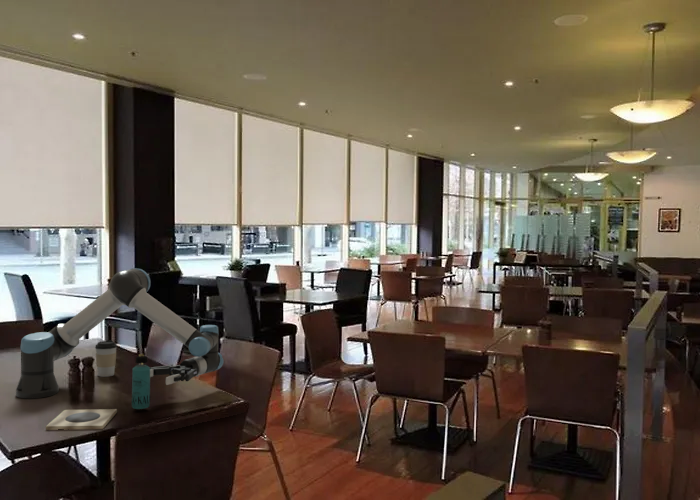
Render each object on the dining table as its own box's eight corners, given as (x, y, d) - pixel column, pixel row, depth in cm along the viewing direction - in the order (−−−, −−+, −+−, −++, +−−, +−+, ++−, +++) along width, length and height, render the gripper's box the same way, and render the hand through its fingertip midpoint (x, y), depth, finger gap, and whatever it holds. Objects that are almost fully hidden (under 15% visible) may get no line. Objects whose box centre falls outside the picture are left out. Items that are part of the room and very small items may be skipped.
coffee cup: (109, 377, 270) (109, 344, 270) (90, 376, 272) (90, 342, 271) (120, 373, 279) (120, 340, 278) (102, 371, 281) (103, 339, 280)
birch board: (45, 429, 202) (45, 426, 202) (64, 413, 220) (64, 409, 220) (102, 429, 204) (102, 425, 204) (116, 412, 222) (116, 408, 222)
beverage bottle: (134, 407, 228) (134, 354, 227) (152, 407, 229) (152, 354, 228) (129, 413, 221) (129, 358, 221) (148, 413, 222) (148, 358, 221)
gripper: (216, 381, 242) (177, 393, 223) (169, 372, 253) (128, 383, 235) (216, 362, 241) (178, 373, 223) (169, 354, 253) (129, 364, 234)
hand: (152, 378), depth 229 cm, fingers open, 13 cm apart
